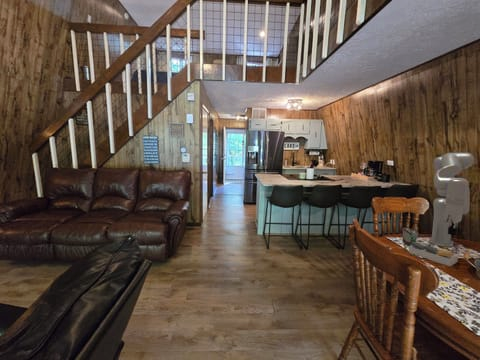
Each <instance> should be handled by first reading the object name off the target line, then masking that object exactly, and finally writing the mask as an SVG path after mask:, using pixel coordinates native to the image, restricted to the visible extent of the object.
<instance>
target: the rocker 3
mask: <svg viewBox="0 0 480 360" xmlns="http://www.w3.org/2000/svg"><path fill="white" fill-rule="evenodd" d="M439 250H440V251H438V252H437V255H442V256H444V257H447V256H452V255H453V254H454V252H453V251H448V250H441V249H439Z"/></svg>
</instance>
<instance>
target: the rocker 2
mask: <svg viewBox="0 0 480 360" xmlns="http://www.w3.org/2000/svg"><path fill="white" fill-rule="evenodd" d="M423 249H425V250H427V251H428V252H430V253H431V252H432V253H434V254H435V253H437V252H438V250H439V249H438V250H437V248H435V247H433V246H431V245H428V244H426V245H424V247H423Z"/></svg>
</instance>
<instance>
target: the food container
mask: <svg viewBox="0 0 480 360" xmlns="http://www.w3.org/2000/svg"><path fill="white" fill-rule="evenodd" d="M418 237H419V232H418V231H417V230H415V229H412V228H407V227H402V243H403V244H404V243H405V244H404V245H405V246H407V247H408V246H412V245H411V243H412V242H414V241H415V242H417V238H418Z"/></svg>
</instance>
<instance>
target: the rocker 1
mask: <svg viewBox="0 0 480 360" xmlns="http://www.w3.org/2000/svg"><path fill="white" fill-rule="evenodd" d="M411 245H412V246H414V247H415V248H417V249H418V248H419V249H423V247H424V246H425V245H424V244H422V243H419V242H417V241H416V242H415V241H414V242H412V243H411Z"/></svg>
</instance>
